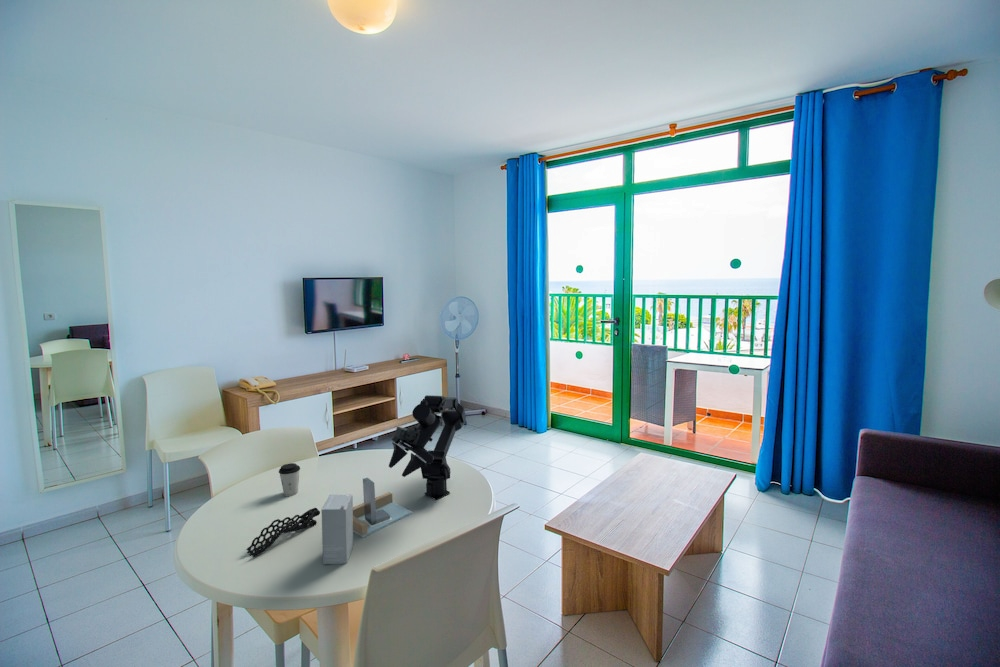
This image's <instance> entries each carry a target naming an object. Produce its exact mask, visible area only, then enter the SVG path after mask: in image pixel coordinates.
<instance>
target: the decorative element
mask: <svg viewBox="0 0 1000 667" xmlns="http://www.w3.org/2000/svg"><path fill="white" fill-rule="evenodd" d="M320 514H321V511H320V510H319V509H318V508H317V507H313V508H310V509H308V510H307V511H306V512H304V513H302V514H301V515H300V514H295V515H294V516H293V517H292V518H291V517H289V516H286V517H285V518H283V519H282V520H280V519H279V518H277V519H275V520H273V521H271V524H269V525H268V526H266V527H264V528H263V529H261V531H260V534H259V536H256V537H254V538H253V540H252V541H251V544H250V546H249V547H247V548H246V554H248V555H250V556H249V557H252V556H253V557H252V558H256V557H257V556H259V555H261V554H262V553H264V552H265V551H266V550H267V549H268V548H270V547H271V546H272V545H273V544H274V543H275V542H276V540H277V539H279V537H280V536H281V535H282V534H285V533H292V532H297V531H301V530H304V529H306V528H309V527H312V526H313V527H314V525H315V526H316V525H317V522H318V521H317V520H316V519H314V518H315V517H318V516H320ZM285 521H286V522H285ZM275 523H276V524H275ZM281 523H282V524H281ZM280 524H281V525H280ZM270 528H272V530H270ZM265 530H266V531H265ZM264 532H265V533H264ZM273 532H274V534H273ZM268 534H269V536H268V537H267V538H266V536H267V535H268ZM261 538H263V539H262V540H261V541H260V539H261ZM259 544H260V545H259ZM251 555H252V556H251Z"/></svg>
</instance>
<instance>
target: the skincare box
mask: <svg viewBox="0 0 1000 667" xmlns="http://www.w3.org/2000/svg"><path fill="white" fill-rule="evenodd" d="M353 500H354V499H353V494H349V493H348V494H347V493H346V494H339V493H338V494H330V495H329V496H328V498H327V499H326V501H325V502H324V504H323V506H322V507H321V511H320V512H321V543H322V564H323V565H340V564H347V563H348V561H349V558H350V556H351V553H352V550H353V547H354V532H353V507H354V503H353V502H354V501H353Z"/></svg>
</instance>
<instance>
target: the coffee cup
mask: <svg viewBox="0 0 1000 667" xmlns="http://www.w3.org/2000/svg"><path fill="white" fill-rule="evenodd" d="M300 470H301V467H300V466H299V465H298V464H297V463H295V462H294V463H293V462H292V463H286V464H283V465H281V466H280V468H279V470H278V474H279V478H280V481H281V487H282V491H283V495H284V497H292V495H293V496H296V495H297V494H298V493H299V484H300Z"/></svg>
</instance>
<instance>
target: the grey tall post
mask: <svg viewBox="0 0 1000 667" xmlns="http://www.w3.org/2000/svg"><path fill="white" fill-rule="evenodd" d="M375 487H376V486H375V482H374V481H373V480H372V479H370V478H369V477H364V478H362V488H363V503H364V511H365V520H366V521H367V522H369V523H370V524H371V525H374V524H377V523H380V522H383V521H385V520H388V519H390V515H389V514H388V513H387V512H386V511H384V510H383V509H382V510H379V511H376V506H375V498H376V492H375V491H376V490H375Z"/></svg>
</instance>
